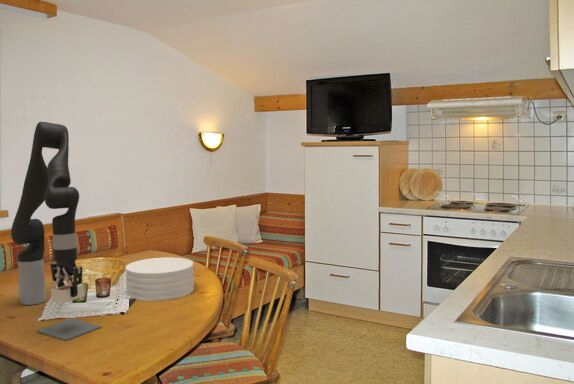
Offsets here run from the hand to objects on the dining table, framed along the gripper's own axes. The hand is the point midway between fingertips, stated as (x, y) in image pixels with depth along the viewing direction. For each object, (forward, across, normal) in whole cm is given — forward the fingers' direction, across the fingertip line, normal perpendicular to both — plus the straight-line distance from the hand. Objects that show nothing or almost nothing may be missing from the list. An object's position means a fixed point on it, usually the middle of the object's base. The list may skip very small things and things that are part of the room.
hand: (67, 295), depth 182 cm
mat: (+12, 0, 0) cm, 12 cm away
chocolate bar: (+13, +5, -25) cm, 29 cm away
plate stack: (+13, +6, -50) cm, 52 cm away
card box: (+1, 0, 0) cm, 1 cm away
